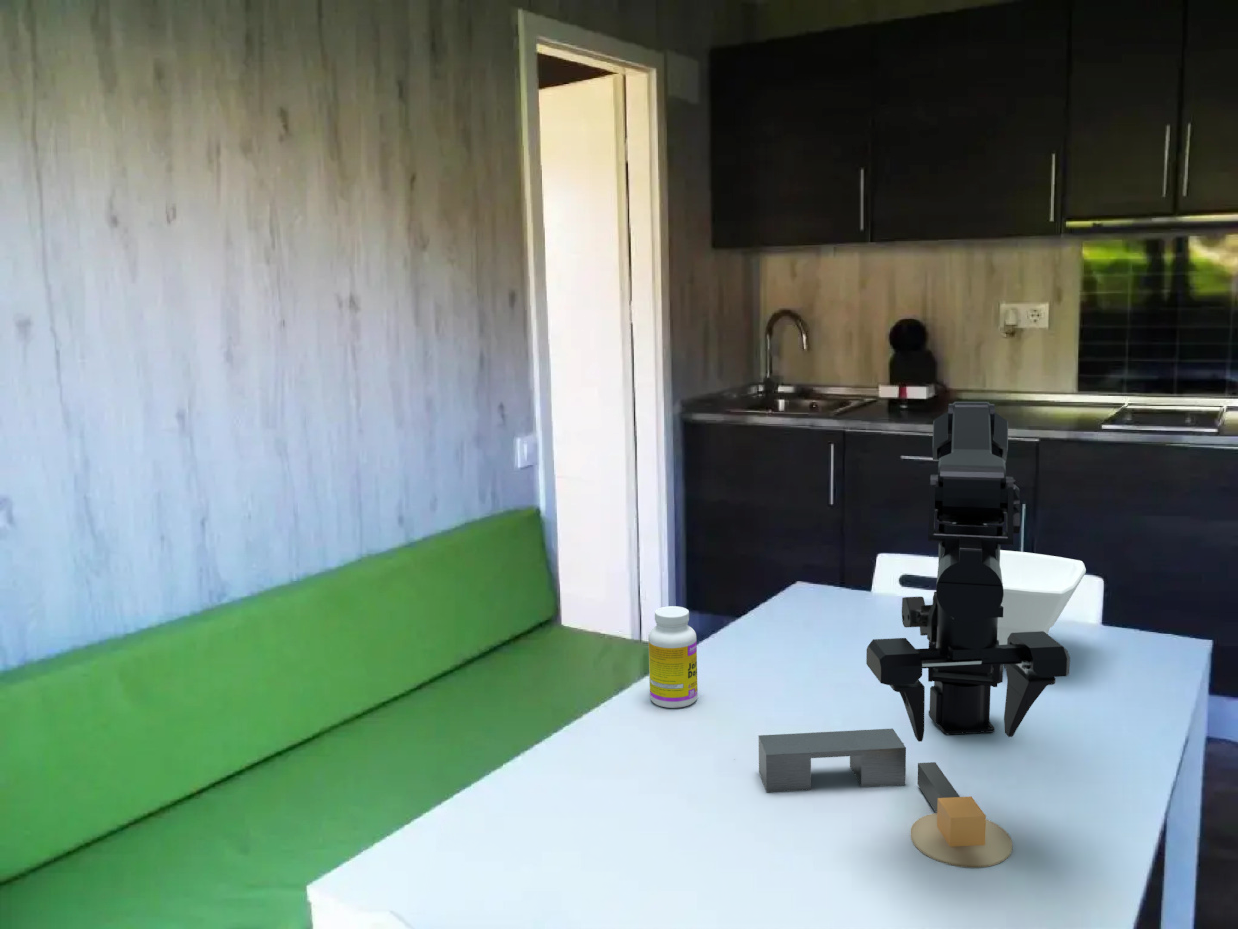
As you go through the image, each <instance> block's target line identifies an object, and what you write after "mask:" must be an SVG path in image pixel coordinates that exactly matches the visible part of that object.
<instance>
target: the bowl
mask: <svg viewBox="0 0 1238 929" xmlns="http://www.w3.org/2000/svg"><path fill="white" fill-rule="evenodd" d="M1000 568H1001V575H1002V583H1003V593H1004V596H1003V600H1002V604H1001V606H1002V607H1003V617H998V629H997V640H999V645H1007V638H1008V637H1009V635H1010V634H1011V633H1019V632H1040V631H1044V632H1045V633H1046V634H1048V635H1049V631H1050V629H1051V628H1052V627H1054V625H1055V624H1056V623H1057V621H1058V619H1059V618H1060V616H1061V615H1062V612H1063V611H1064V610H1065V607H1066V606H1067V604H1068V602H1069V601H1070V600H1071V598H1072V596H1073V594H1074V593H1075V591H1076V590H1077V588H1078V586H1079V585H1080V583H1081V581H1082V579H1083V578H1084V576H1085V574H1086V572H1087V569H1086V566H1085V563H1084V562H1083V561H1082V560H1080V559H1073V558H1068V557H1062V556H1057V555H1056V556H1054V555H1049V554H1042V553H1033V552H1025V551H1017V550H1016V551H1014V550H1003V549H1000Z"/></svg>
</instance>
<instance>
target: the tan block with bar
mask: <svg viewBox="0 0 1238 929" xmlns="http://www.w3.org/2000/svg"><path fill="white" fill-rule="evenodd" d="M916 784H917V786H918V787H919V789H920V791H921V792H922V793H923V795H924V797H925V798H926V800H927V801H928V803H929V805H930V806H931V808H932V809H933V811H934V813H936V814H937V827H938V829H939V830H940V832H941V833H942V835H943V837H944V838H945V840H946V841H947V843H948V844H949V846H950V847H954V846H974V845H985V830H986V819H987V815H986V813H984V812H983V810H982V809H981V807H980V806H979V804H978V803H977V801H975V799H974V798H973V796H960V795H959V793H958V791H957V790H956V789H955V787H954V786H953V785H952V783H951V782H950V780H949V779H948V778H947V776H946V775H945V774H944V772H943V771H942V769H941V768H940V767H939V765H938V764H937V762H936V761H935V762H933V761H932V762H918V763H917V783H916Z"/></svg>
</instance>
